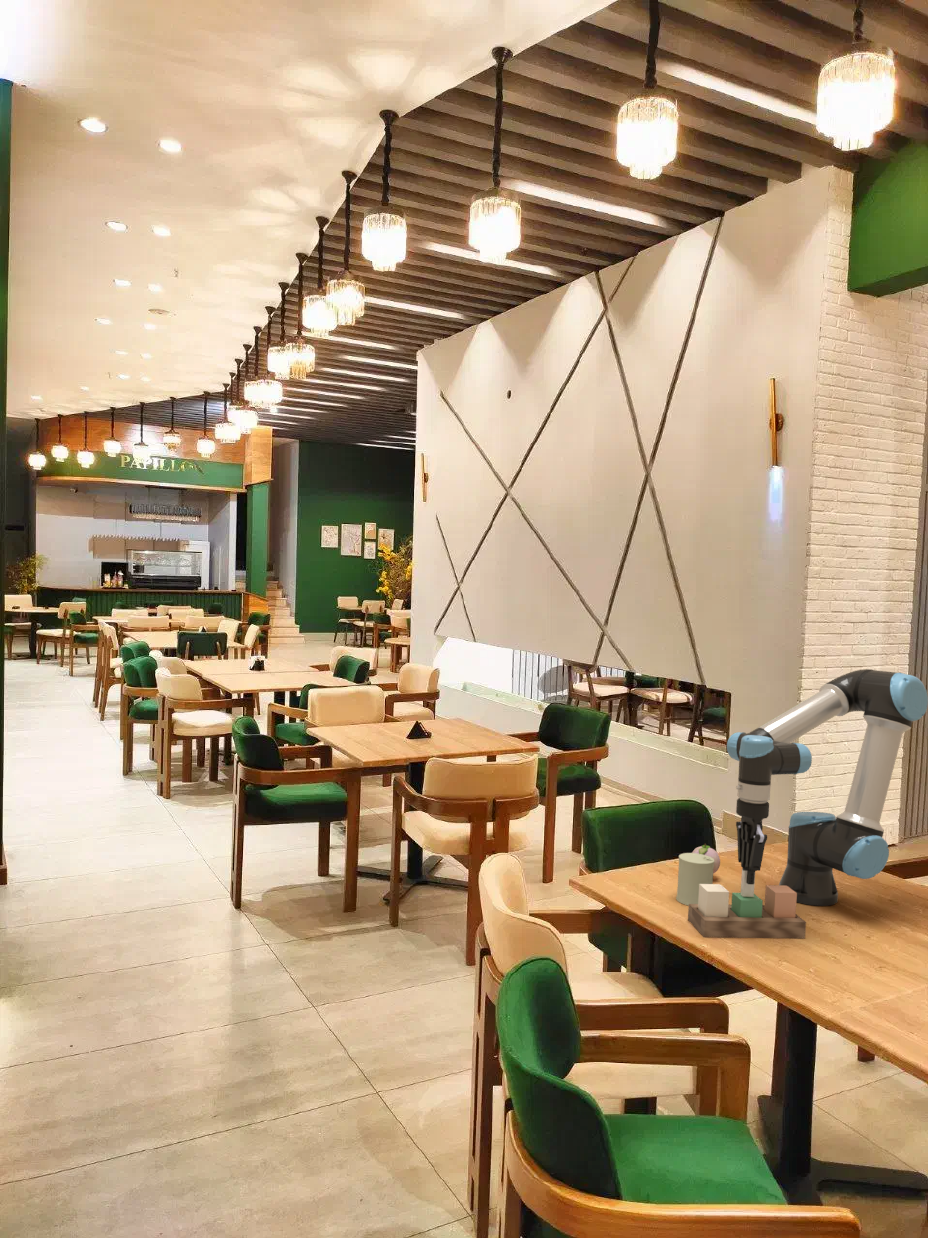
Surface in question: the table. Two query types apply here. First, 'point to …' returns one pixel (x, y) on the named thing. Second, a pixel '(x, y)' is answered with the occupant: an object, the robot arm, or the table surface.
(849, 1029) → the table surface
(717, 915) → the cream block
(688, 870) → the can
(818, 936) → the table surface
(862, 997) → the table surface
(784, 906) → the terracotta block
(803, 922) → the walnut board
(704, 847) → the decorative fruit
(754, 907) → the green block
